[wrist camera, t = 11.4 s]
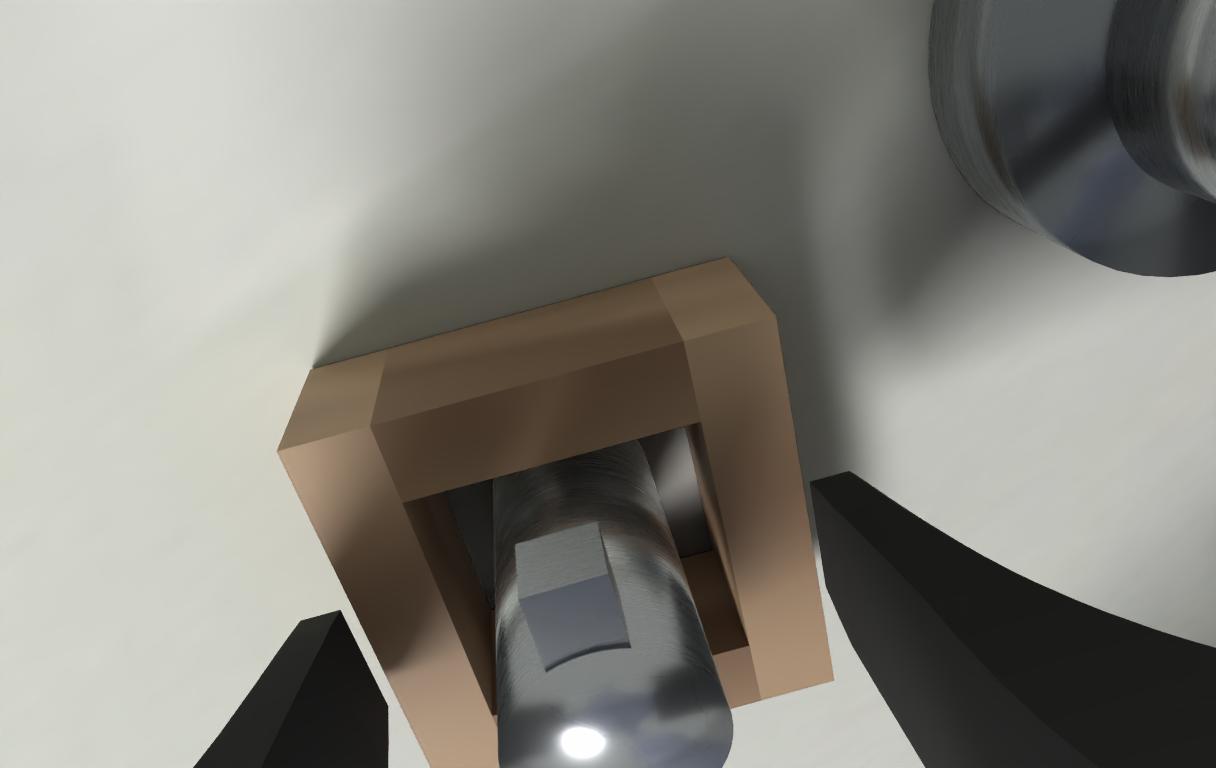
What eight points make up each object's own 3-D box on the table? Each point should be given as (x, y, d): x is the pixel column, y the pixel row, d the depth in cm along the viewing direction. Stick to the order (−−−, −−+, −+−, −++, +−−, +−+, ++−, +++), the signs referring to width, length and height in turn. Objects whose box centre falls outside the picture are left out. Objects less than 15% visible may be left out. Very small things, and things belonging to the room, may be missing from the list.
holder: (788, 583, 17) (834, 680, 15) (446, 677, 17) (440, 788, 15) (728, 256, 14) (776, 316, 12) (310, 369, 14) (277, 451, 12)
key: (674, 562, 17) (764, 842, 11) (533, 602, 17) (557, 901, 11) (614, 340, 15) (691, 556, 9) (453, 386, 15) (436, 628, 9)
